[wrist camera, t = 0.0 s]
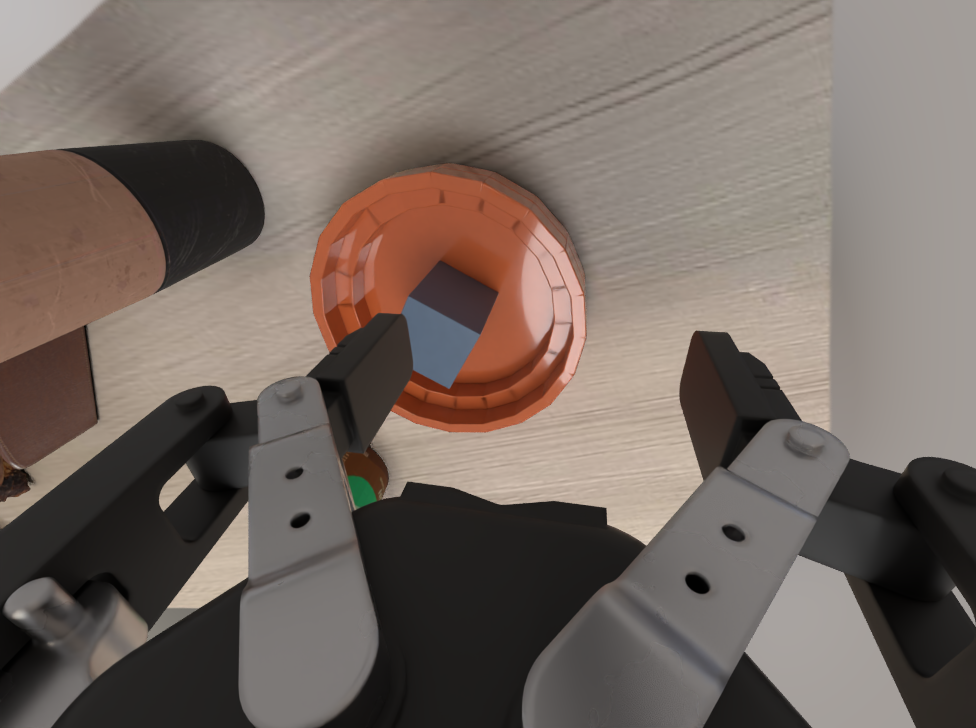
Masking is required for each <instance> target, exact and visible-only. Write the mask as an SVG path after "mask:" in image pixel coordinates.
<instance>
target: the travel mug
mask: <svg viewBox="0 0 976 728" xmlns="http://www.w3.org/2000/svg"><path fill="white" fill-rule="evenodd" d="M263 223H264V208H263V202H262V198H261V195H260V193H259V190H258V188H257V186H256V184H255V182H254V180H253V178H252V177H251V175H250V174H249V172H248V171H247V170H246V168H245V167H244V166H243V165H242V164H241V163H240V162H239V161H238V160H237V159H236V158H235V157H234V156H233V155H232V154H230V153H229V152H227V151H226V150H224V149H223V148H221V147H219V146H217V145H215V144H212V143H209V142H205V141H200V140H183V141H167V142H153V143H139V144H125V145H110V146H96V147H82V148H68V149H56V150H45V151H36V152H28V153H19V154H10V155H2V156H0V363H2V362H4V361H6V360H8V359H10V358H13V357H15V356H17V355H19V354H22V353H24V352H26V351H28V350H31V349H33V348H35V347H37V346H39V345H42V344H44V343H46V342H48V341H51V340H53V339H55V338H57V337H60V336H62V335H64V334H66V333H68V332H71V331H73V330H75V329H77V328H80V327H82V326H84V325H86V324H89V323H91V322H93V321H95V320H97V319H100V318H102V317H104V316H106V315H109V314H111V313H113V312H115V311H118V310H120V309H122V308H124V307H126V306H129V305H131V304H133V303H135V302H138V301H140V300H142V299H144V298H146V297H149V296H150V295H152V294H155V293H157V292H159V291H161V290H163V289H165V288H167V287H169V286H171V285H173V284H175V283H177V282H179V281H181V280H182V279H184V278H186V277H188V276H190V275H192V274H194V273H196V272H198V271H200V270H202V269H204V268H206V267H208V266H210V265H212V264H214V263H216V262H218V261H220V260H222V259H224V258H226V257H228V256H230V255H232V254H234V253H236V252H237V251H239V250H241V249H243V248H245V247H247V246H248V245H250V244H251V243H253V242H254V241H255V240H256V239H257V237H258V236H259V235H260V233H261V230H262V227H263Z"/></svg>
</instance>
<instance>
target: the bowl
mask: <svg viewBox="0 0 976 728" xmlns="http://www.w3.org/2000/svg"><path fill="white" fill-rule="evenodd" d="M439 261H442V262H444V263H446V264H448V265H449V266H451V267H453V268H455V269H457V270H458V271H460V272H462V273H464V274H466V275H468V276H469V277H471V278H473V279H475V280H477V281H478V282H480V283H482V284H484V285H486V286H487V287H489V288H491V289H493V290H495V291H496V292H498V293H499V294H498V297H497V299H496V301H495V303H494V306H493V308H492V310H491V312H490V315H489V317H488V319H487V321H486V324H485V326H484V328H483V330H482V333H481V335H480V337H479V338H478V340H477V342H476V344H475V345H474V347H473V349H472V351H471V352H470V354H469V356H468V358H467V359H466V361H465V363H464V365H463V366H462V368H461V370H460V372H459V373H458V375H457V377H456V379H455V380H454V382H453V384H452V385H451V387H450V389H448V388H447V387H445V386H443V385H441V384H439V383H437V382H435V381H433V380H431V379H429V378H427V377H425V376H424V375H422V374H420V373H418V372H416V371H414V370H413V372H412V376H411V378H410V380H409V382H408V384H407V385H406V387H405V388H404V390H403V392H402V393H401V395H400V396H399V398H398V400H397V401H396V403H395V404H394V406H393V408H392V409H391V411H392V412H394V413H396V414H398V415H400V416H402V417H404V418H406V419H408V420H410V421H412V422H415V423H416V424H420V425H424V426H428V427H432V428H436V429H440V430H444V431H448V432H489V431H493V430H497V429H501V428H504V427H508V426H512V425H516V424H519V423H522V422H524V421H525V420H527V419H528V418H530V417H532V416H533V415H535V414H536V413H538V412H540V411H541V410H543V409H544V408H546V407H548V406H549V405H551V403H552V402H553V401H554V400H555V399H556V397H557V396H558V395H559V394H560V392H561V391H562V390H563V389H564V387H565V386H566V385H567V384H568V382H569V381H570V380H571V379H572V377H573V376H574V374H575V372H576V369H577V366H578V363H579V360H580V356H581V353H582V350H583V347H584V344H585V341H586V336H587V308H586V287H585V273H584V270H583V267H582V265H581V262H580V260H579V257H578V255H577V253H576V250H575V248H574V245H573V243H572V240H571V238H570V235H569V233H567V230H566V229H565V228H564V227H563V226H562V224H561V223H560V222H559V221H558V220H557V219H556V218H555V216H554V215H553V214H552V213H551V212H550V211H549V209H548V208H547V207H546V206H545V205H544V204H543V203H542V201H541V200H540V199H539V198H538V197H536V195H534V194H532V193H531V192H529V191H527V190H525V189H524V188H522V187H520V186H519V185H517V184H515V183H514V182H512V181H510V180H508V179H507V178H505V177H503V176H502V175H500V174H498V173H496V172H494V171H489V170H484V169H479V168H474V167H469V166H464V165H458V164H453V163H443V164H437V165H431V166H425V167H419V168H413V169H407V170H403V171H401V172H399V173H396V174H394V175H391V176H389V177H387V178H384V179H382V180H380V181H378V182H377V183H375V184H373V185H372V186H370V187H368V188H367V189H365V190H364V191H362V192H360V193H359V194H357V195H355V196H354V197H352V198H350V199H349V200H347V201H345V203H343V204H342V205H341V207H340V208H339V210H338V211H337V212H336V214H335V215H334V217H333V218H332V219H331V221H330V222H329V224H328V225H327V226H326V228H325V229H324V231H323V232H322V233H321V235H320V237H319V240H318V244H317V248H316V252H315V257H314V261H313V265H312V269H311V273H310V283H311V293H312V303H313V313H314V316H315V319H316V321H317V324H318V326H319V329H320V331H321V333H322V336H323V338H324V341H325V343H326V346H327V348H328V350H329V352H330V351H331V350H332V349H333V348H334V347H337V344H338V343H339V342H340V341H341V340H342V339H343V338H344V337H345V336H346V335H348V334H350V333H352V332H354V331H356V330H358V329H359V328H364V327H365V326H366V325H367V323H368V322H369V321H370V320H371V319H372V318H373V317H374V316H375V315H376V314H377V313H392V314H401V312H402V309H403V307H404V305H405V302H406V300H407V297H408V296H409V294H410V293H411V292H412V291H413V290H414V289H415V288H416V287H417V285H418V284H419V283H420V282H421V281H422V280H423V279H424V277H425V276H426V275H427V274H428V273H429V272H430V271H431V270H432V268H433V267H434V266H435V265H436V264H437V263H438V262H439Z"/></svg>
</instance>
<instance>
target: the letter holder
mask: <svg viewBox="0 0 976 728" xmlns="http://www.w3.org/2000/svg"><path fill="white" fill-rule="evenodd" d="M95 424H97V414H96V408H95V401H94V392H93V386H92V379H91V372H90V364H89V358H88V350H87V343H86V337H85V328H84V326H82V327H80V328H77V329H75V330H73V331H71V332H68V333H66V334H64V335H62V336H60V337H57V338H55V339H53V340H51V341H48V342H46V343H44V344H42V345H39V346H37V347H35V348H33V349H31V350H28V351H26V352H24V353H22V354H19V355H17V356H15V357H13V358H10V359H8V360H6V361H4V362H2V363H0V455H1V456H2V458H3V459H4V460H5V461H6V462H7V463H8V464H9V465H10V466H12V467H13V468H15V469H18V470H20V469H24V468H27V467H29V466H31V465H33V464H35V463H37V462H38V461H39V460H41V459H43V458H44V457H46V456H47V455H49V454H50V453H52V452H54V451H55V450H57V449H58V448H60V447H61V446H63V445H64V444H66V443H67V442H69V441H71V440H73V439H74V438H76V437H77V436H79V435H80V434H82V433H84V432H85V431H87V430H88V429H89V428H91V427H93V426H94V425H95Z"/></svg>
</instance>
